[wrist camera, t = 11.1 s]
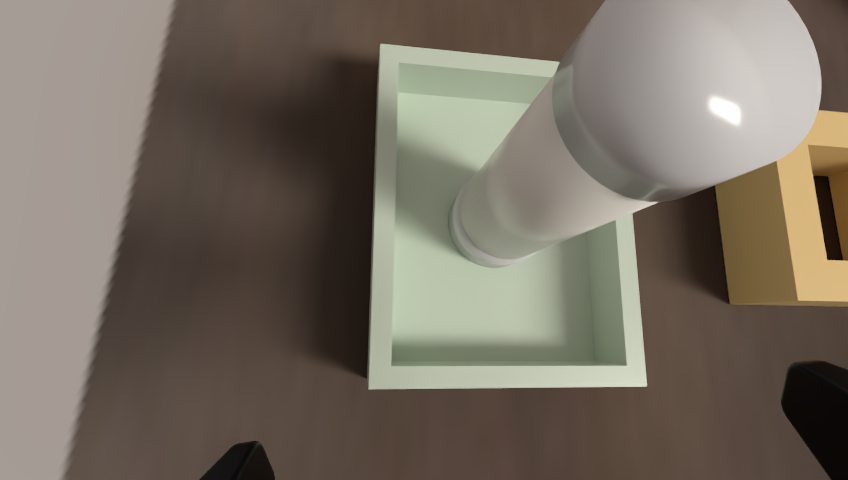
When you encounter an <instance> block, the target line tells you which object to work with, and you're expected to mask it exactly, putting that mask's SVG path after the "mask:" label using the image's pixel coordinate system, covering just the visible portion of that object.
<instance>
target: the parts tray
mask: <svg viewBox="0 0 848 480" xmlns="http://www.w3.org/2000/svg"><path fill="white" fill-rule="evenodd" d="M559 63H560V62H554V61H544V60H535V59H525V58H515V57H505V56H495V55H486V54H476V53H466V52H456V51H447V50H437V49H427V48H417V47H408V46H398V45H388V44H380V54H379V67H378V80H377V105H376V134H375V163H374V192H373V221H372V250H371V279H370V308H369V337H368V366H367V382H368V388H369V389H445V388H545V387H645V386H647V381H646V369H645V357H644V345H643V333H642V321H641V310H640V298H639V286H638V274H637V262H636V251H635V239H634V227H633V215H632V213H631V214H629V215H626V216H624V217H621V218H619V219H616V220H614V221H611V222H609V223H607V224H604V225H602V226H599V227H597V228H594V229H592V230H589V231H587V232H584V233H582V234H579V235H577V236H574V237H572V238H570V239H567V240H565V241H562V242H560V243H557V244H555V245H552V246H550V247H547V248H545V249H542V250H540V251H538V252H537V253H536V254H534V255H533V256H531V257H529V258H527V259H524V260H522V261H519V262H517V263H514V264H511V265H509V266H505V267H501V268H488V267H483V266H480V265H477V264H475V263H473V262H471V261H470V260H468V259H467V258H466V257H464V256H463V255H462V254H461V253H460V252H459V250H458V249H457V248H456V246H455V245H454V243H453V241H452V239H451V236H450V233H449V228H448V214H449V210H450V207H451V204H452V202H453V200H454V198H455V197H456V196H457V194H458V193H459V192H460V190H461V189H462V188H463V186H464V185H465V184H466V182H467V181H468V180H469V179H470V178H471V177H472V176H473V175H474V174H476V173H477V172H478V171H479V170H480V168H481V167H482V166H483V165H484V163H485V162H486V161H487V160H488V158H489V157H490V156H491V154H492V153H493V152H494V151H495V149H496V148H497V147H498V145H499V144H500V143H501V142H502V140H503V139H504V138H505V137H506V135H507V134H508V133H509V131H510V130H511V129H512V128H513V126H514V125H515V124H516V123H517V121H518V120H519V119H520V117H521V116H522V115H523V114H524V112H525V111H526V110H527V109H528V107H529V106H530V105H531V103H532V102H533V101H534V100H535V98H536V97H537V96H538V95H539V93H540V92H541V91H542V89H543V88H544V87H545V86H546V84H547V83H548V82H549V80H550V79H551V78H552V77H553V75H554V74H555V73H556V70H557V68H558V65H559Z"/></svg>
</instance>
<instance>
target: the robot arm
mask: <svg viewBox="0 0 848 480" xmlns="http://www.w3.org/2000/svg"><path fill="white" fill-rule="evenodd" d="M781 405H782V409H783V411H784V413H785V415H786V417H787V418H788V420H789V421H790V422H791V424H792V425H793V427H794V428H795V429H796V431H797V432H798V434H799V435H800V437H801V438H802V439H803V441H804V442H805V444H806V445H807V446H808V448H809V449H810V451H811V452H812V453H813V455H814V456H815V458H816V459H817V460H818V462H819V463H820V465H821V466H822V468H823V469H824V470H825V472H826V473H827V475H828V476H829V477H830V479H831V480H848V370H847V369H844V368H841V367H839V366H836V365H833V364H831V363H828V362H825V361H822V360H808V361H801V362H795V363H792V364H791V365H790V366H789V367H788V369H787V373H786V377H785V382H784V387H783V392H782V396H781ZM199 480H275V476H274V472H273V469H272V467H271V464H270V462H269V460H268V457H267V455H266V453H265V450H264V448H263V446H262V444H261V443H260V442H258V441H251V442H244V443H238V444H235V445H234V446H232V447H231V448H230V449H229V450H228V451H227V452H226V453H225V454H224V455H223V456H222V457H221V458H220V459H219V460H218V461H217V462H216V463H215V464H214V465H213V466H212V467H211V468H210V469H209V470H208V471H207V472H206V473H205V474H204V475H203V476H202V477H201V478H200V479H199Z"/></svg>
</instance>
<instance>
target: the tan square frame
mask: <svg viewBox="0 0 848 480" xmlns="http://www.w3.org/2000/svg"><path fill="white" fill-rule="evenodd" d="M813 175H814V176H828V178H829V184H830V190H831V195H832V201H833V207H834V212H835V218H836V223H837V229H838V235H839V240H840V246H841V252H842V257H843V261H842V260H827V255H826V250H825V244H824V238H823V232H822V226H821V220H820V214H819V208H818V203H817V197H816V191H815V185H814V179H813ZM715 189H716V197H717V205H718V213H719V221H720V229H721V238H722V246H723V254H724V262H725V270H726V278H727V286H728V294H729V302H730V304H742V305H792V306H842V307H848V113H842V112H831V111H821V110H818V112H817V115H816V119H815V121H814V123H813V125H812V127H811V129H810V131H809V133H808V134H807V135H806V137H805V138H804V139H803V141H802V142H801V143H800V144H799V145H798V146H797V147H796V148H795V149H794V150H793V151H792V152H790V153H789V154H787V155H786V156H784V157H783V158H781V159H779V160H777V161H775V162H772V163H770V164H768V165H765V166H763V167H760V168H757V169H755V170H752V171H750V172H747V173H745V174H742V175H740V176H737V177H734V178H732V179H729V180H727V181H724V182H722V183H719V184H716V185H715Z"/></svg>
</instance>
